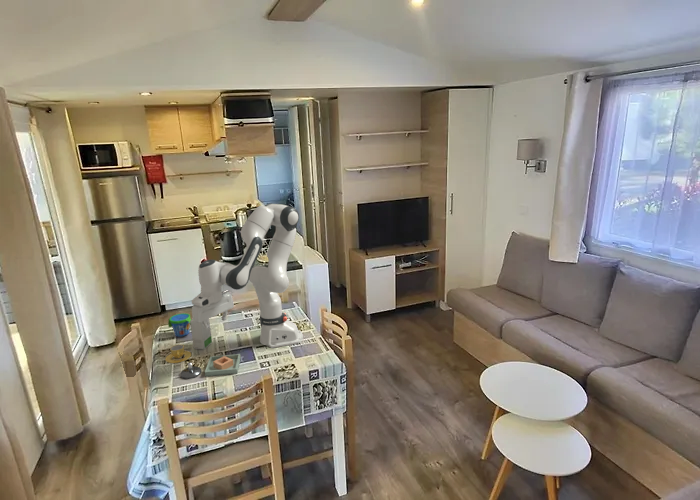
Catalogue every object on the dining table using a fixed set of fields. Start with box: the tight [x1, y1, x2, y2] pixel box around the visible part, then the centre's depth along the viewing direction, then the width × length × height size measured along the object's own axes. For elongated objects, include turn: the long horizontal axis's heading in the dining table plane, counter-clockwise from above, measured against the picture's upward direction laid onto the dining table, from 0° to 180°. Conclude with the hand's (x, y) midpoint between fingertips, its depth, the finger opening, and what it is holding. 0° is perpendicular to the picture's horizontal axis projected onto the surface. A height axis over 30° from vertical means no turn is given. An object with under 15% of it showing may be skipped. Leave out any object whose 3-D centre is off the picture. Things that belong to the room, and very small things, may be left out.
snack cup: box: [167, 312, 192, 338], centre depth 233 cm, size 16×10×10 cm
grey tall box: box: [190, 318, 213, 350], centre depth 218 cm, size 8×7×16 cm
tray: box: [204, 353, 242, 378], centre depth 199 cm, size 14×14×2 cm
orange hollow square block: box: [213, 356, 234, 370], centre depth 199 cm, size 6×6×3 cm
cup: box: [164, 343, 192, 364], centre depth 209 cm, size 12×12×5 cm
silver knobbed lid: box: [179, 361, 202, 380], centre depth 194 cm, size 9×9×5 cm
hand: (215, 323), depth 196 cm, fingers open, 8 cm apart
